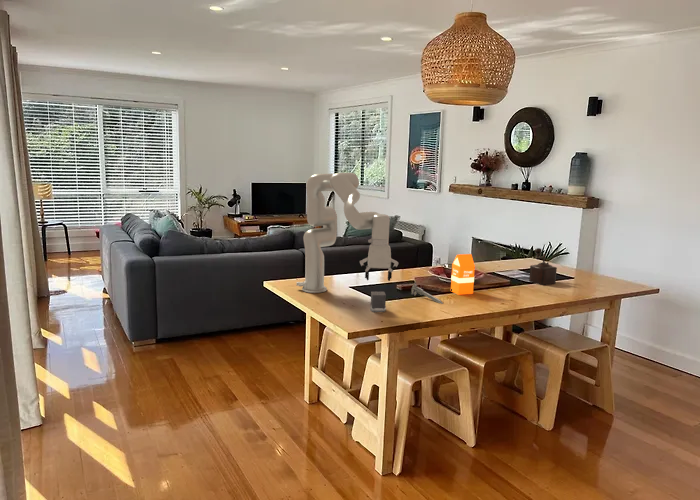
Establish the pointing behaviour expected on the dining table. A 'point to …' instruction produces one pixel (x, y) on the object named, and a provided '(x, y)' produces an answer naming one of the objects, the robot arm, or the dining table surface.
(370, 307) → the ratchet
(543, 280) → the brown coffee grinder
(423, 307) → the dining table surface
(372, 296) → the grey stone cube
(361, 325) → the dining table surface
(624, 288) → the dining table surface
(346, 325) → the dining table surface
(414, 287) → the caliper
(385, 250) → the robot arm
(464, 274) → the orange juice
